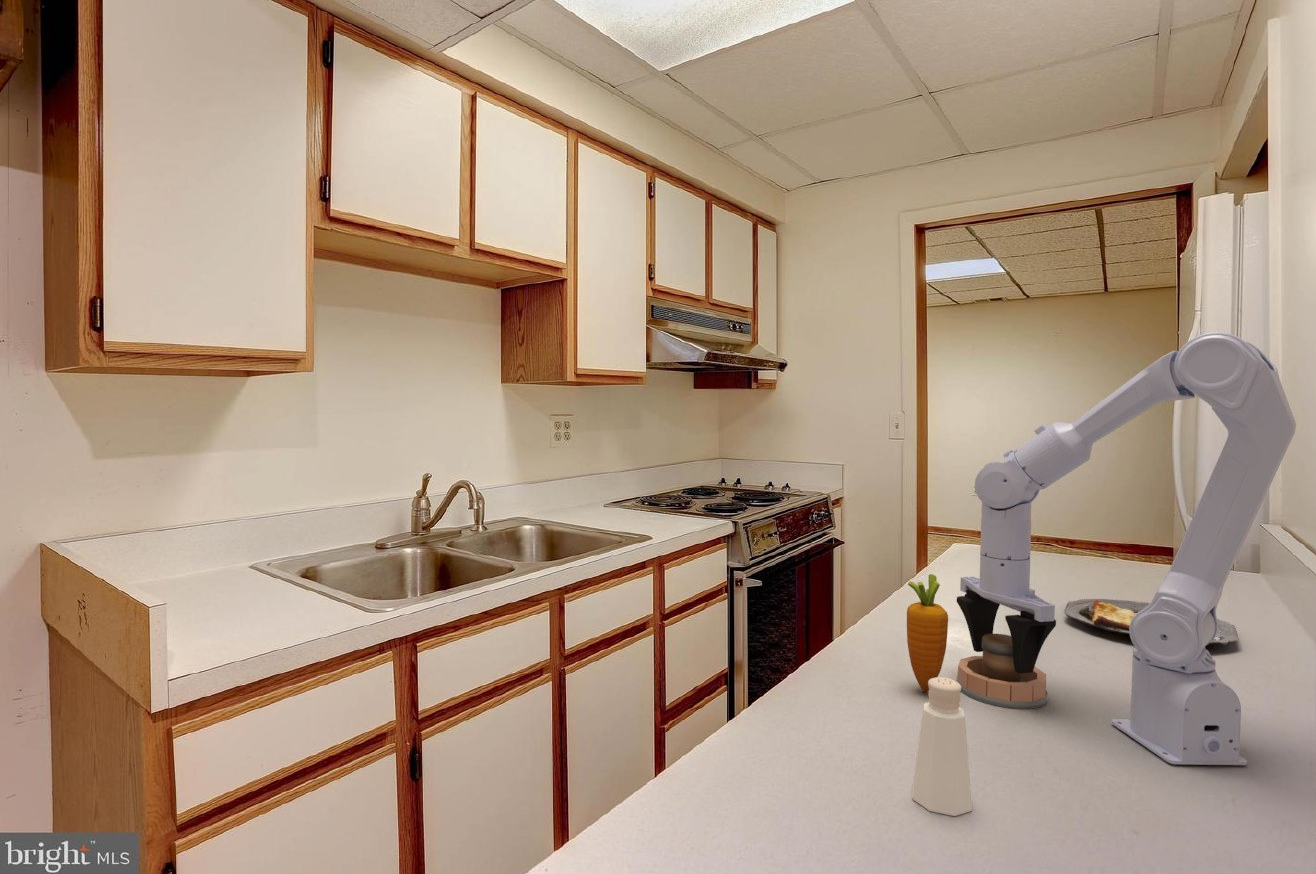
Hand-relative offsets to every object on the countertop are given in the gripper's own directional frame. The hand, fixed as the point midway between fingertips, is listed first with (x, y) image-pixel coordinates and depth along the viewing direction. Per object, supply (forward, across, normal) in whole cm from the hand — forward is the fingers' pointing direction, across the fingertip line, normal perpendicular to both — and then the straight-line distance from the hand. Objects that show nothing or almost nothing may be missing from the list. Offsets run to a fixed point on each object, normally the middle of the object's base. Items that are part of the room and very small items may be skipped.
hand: (1002, 661), depth 88 cm
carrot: (+4, +2, +10) cm, 11 cm away
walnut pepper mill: (+3, 0, 0) cm, 3 cm away
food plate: (+4, +18, -43) cm, 47 cm away
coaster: (+4, 0, 0) cm, 4 cm away
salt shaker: (+4, -20, +23) cm, 31 cm away
